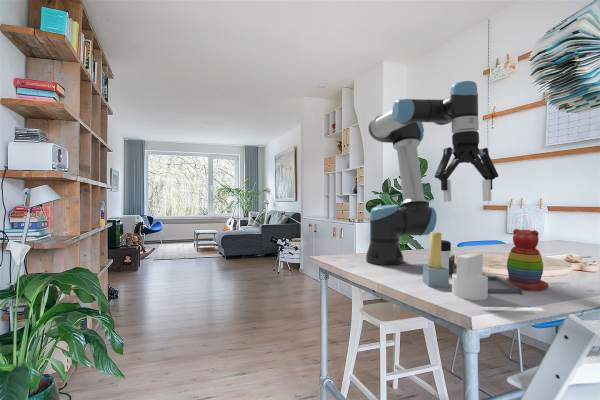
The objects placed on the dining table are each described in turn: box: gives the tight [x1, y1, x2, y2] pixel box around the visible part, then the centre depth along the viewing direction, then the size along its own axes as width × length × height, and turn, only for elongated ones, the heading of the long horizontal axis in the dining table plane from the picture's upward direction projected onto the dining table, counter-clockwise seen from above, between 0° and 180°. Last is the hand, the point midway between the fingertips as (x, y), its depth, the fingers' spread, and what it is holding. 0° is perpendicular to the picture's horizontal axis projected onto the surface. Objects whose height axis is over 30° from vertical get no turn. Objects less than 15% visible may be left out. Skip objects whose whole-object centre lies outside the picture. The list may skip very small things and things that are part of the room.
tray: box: [485, 275, 523, 296], centre depth 105 cm, size 14×10×2 cm
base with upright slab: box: [451, 252, 489, 301], centre depth 97 cm, size 9×9×12 cm
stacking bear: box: [506, 228, 549, 292], centre depth 106 cm, size 11×10×18 cm
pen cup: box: [422, 264, 450, 288], centre depth 108 cm, size 6×6×6 cm
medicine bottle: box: [427, 239, 455, 276], centre depth 122 cm, size 7×7×12 cm
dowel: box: [429, 231, 442, 269], centre depth 108 cm, size 3×3×16 cm
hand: (467, 201), depth 106 cm, fingers open, 13 cm apart
